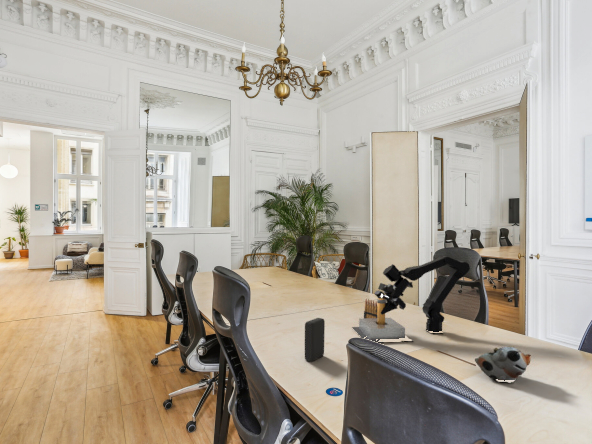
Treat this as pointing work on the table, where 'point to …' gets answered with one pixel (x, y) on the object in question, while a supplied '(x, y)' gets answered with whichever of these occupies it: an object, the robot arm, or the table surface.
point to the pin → (379, 308)
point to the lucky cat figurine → (504, 363)
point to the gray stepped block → (379, 329)
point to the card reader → (314, 339)
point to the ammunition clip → (370, 309)
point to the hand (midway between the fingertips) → (378, 312)
